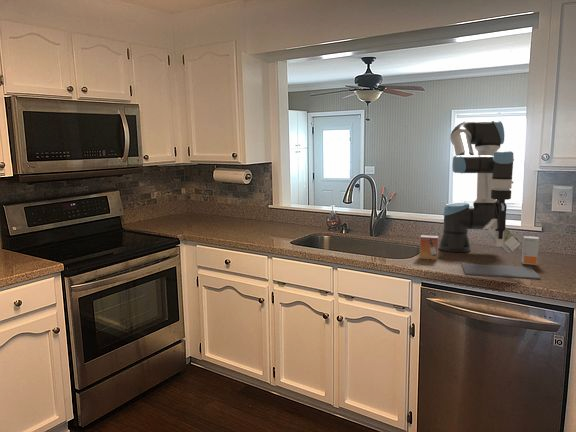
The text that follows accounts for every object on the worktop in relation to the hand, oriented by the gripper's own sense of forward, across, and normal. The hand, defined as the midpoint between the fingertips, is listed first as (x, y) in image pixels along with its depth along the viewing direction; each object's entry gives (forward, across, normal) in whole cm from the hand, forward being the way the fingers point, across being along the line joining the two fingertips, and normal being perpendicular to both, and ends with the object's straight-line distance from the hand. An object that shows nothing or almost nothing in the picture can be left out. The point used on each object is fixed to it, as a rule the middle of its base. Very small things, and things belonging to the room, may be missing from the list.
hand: (498, 244), depth 194 cm
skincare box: (+12, +17, -16) cm, 26 cm away
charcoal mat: (+12, 0, -1) cm, 12 cm away
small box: (+12, +17, +27) cm, 34 cm away
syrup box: (+2, 0, -6) cm, 7 cm away
